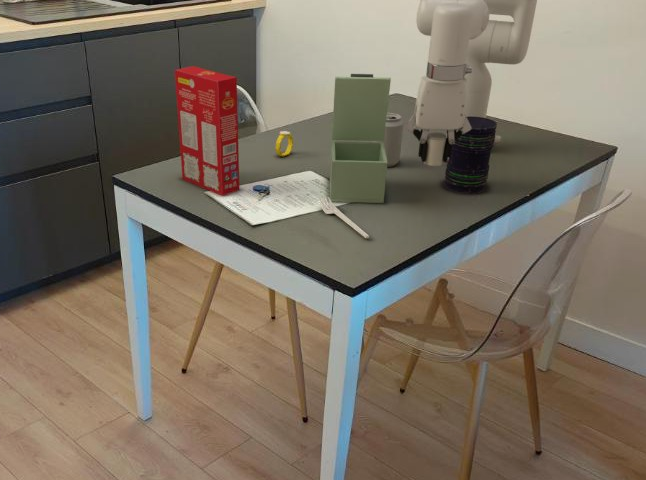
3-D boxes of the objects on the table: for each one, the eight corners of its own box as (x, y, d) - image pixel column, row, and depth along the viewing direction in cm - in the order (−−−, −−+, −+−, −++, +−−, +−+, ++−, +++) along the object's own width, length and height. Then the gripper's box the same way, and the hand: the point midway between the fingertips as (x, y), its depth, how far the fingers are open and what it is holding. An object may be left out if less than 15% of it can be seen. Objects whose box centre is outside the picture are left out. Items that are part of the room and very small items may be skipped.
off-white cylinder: (441, 160, 155) (445, 132, 151) (443, 166, 151) (447, 138, 148) (423, 159, 155) (426, 132, 151) (425, 166, 152) (428, 138, 148)
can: (398, 168, 176) (403, 120, 169) (368, 166, 177) (372, 118, 170) (400, 159, 182) (405, 112, 175) (371, 157, 183) (375, 110, 177)
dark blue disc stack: (435, 182, 169) (444, 118, 160) (469, 176, 172) (479, 114, 163) (459, 196, 161) (470, 131, 153) (494, 190, 164) (506, 126, 156)
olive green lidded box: (383, 203, 158) (387, 162, 152) (329, 201, 158) (331, 161, 153) (379, 180, 169) (383, 142, 164) (329, 179, 170) (331, 141, 164)
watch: (281, 159, 182) (282, 136, 178) (273, 157, 183) (273, 134, 179) (295, 153, 186) (295, 130, 182) (286, 151, 187) (287, 128, 183)
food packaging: (239, 189, 164) (236, 77, 150) (222, 195, 161) (217, 81, 146) (199, 173, 172) (193, 66, 158) (182, 179, 169) (174, 69, 155)
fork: (360, 241, 141) (361, 232, 140) (316, 206, 156) (316, 197, 155) (374, 238, 142) (375, 230, 141) (329, 203, 157) (329, 195, 156)
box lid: (390, 79, 152) (389, 67, 156) (335, 78, 153) (335, 66, 157) (383, 141, 163) (382, 129, 167) (331, 140, 164) (331, 127, 168)
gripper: (483, 68, 145) (469, 155, 155) (402, 66, 146) (393, 153, 156) (490, 77, 139) (475, 167, 149) (405, 75, 140) (396, 165, 150)
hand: (433, 159), depth 153 cm, fingers closed on off-white cylinder, 4 cm apart
